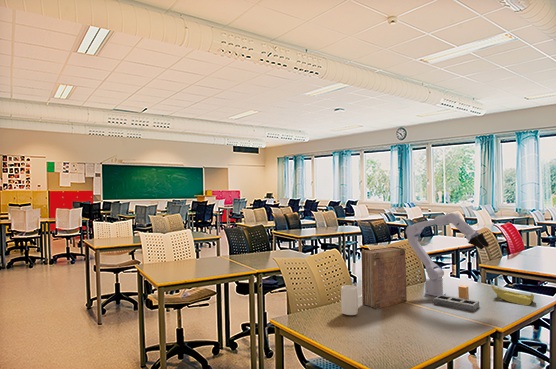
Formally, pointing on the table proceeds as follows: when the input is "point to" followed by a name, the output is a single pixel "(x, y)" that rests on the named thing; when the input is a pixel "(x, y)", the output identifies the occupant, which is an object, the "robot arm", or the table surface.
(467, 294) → the peg
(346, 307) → the cup
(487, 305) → the table surface
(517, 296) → the banana
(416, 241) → the robot arm
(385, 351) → the table surface
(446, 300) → the grey compartment tray
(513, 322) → the table surface
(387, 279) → the book
